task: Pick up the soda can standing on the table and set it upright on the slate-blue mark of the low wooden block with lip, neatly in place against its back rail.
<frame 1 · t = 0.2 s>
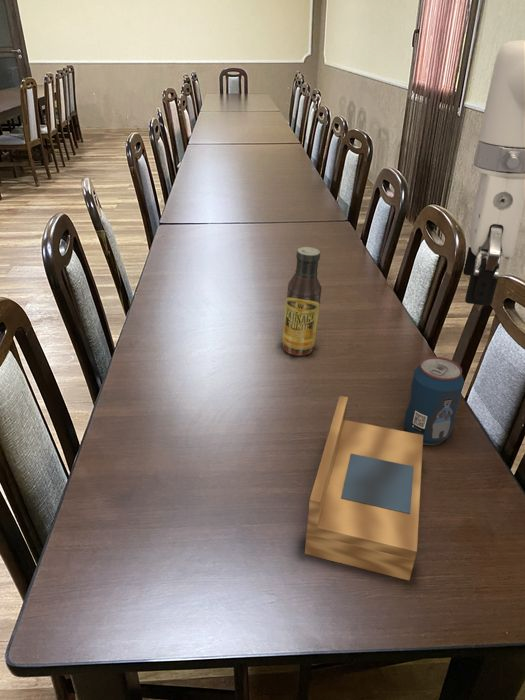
hand: (475, 288, 73), 23 cm above the table, tool pointing down, fingers open, 9 cm apart
sauce bottle: (298, 350, 102), on the table
soda can: (425, 433, 82), on the table
wooden block with lip: (366, 503, 70), on the table
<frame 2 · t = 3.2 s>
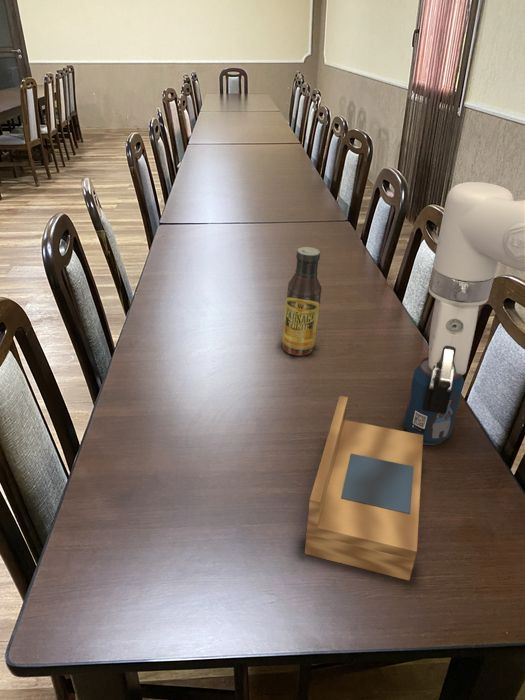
hand: (434, 394, 78), 7 cm above the table, tool pointing down, fingers closed on soda can, 7 cm apart
soda can: (425, 433, 82), on the table, touching gripper
everything else where it was.
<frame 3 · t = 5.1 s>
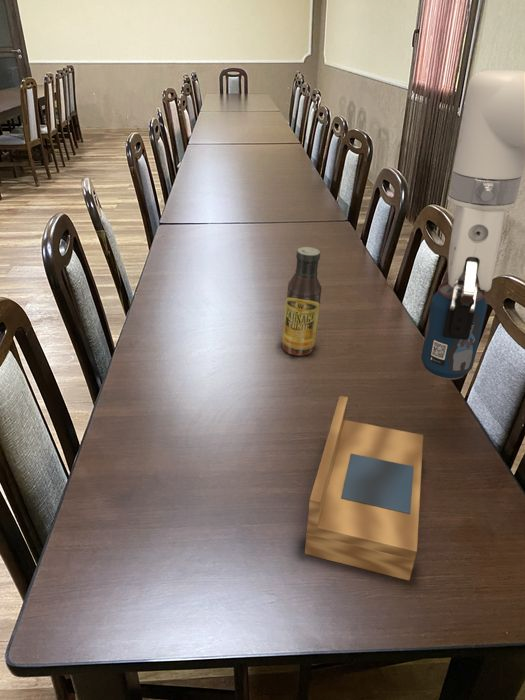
hand: (454, 323, 72), 19 cm above the table, tool pointing down, fingers closed on soda can, 7 cm apart
soda can: (444, 369, 75), point 12 cm above the table, touching gripper
everything else where it was.
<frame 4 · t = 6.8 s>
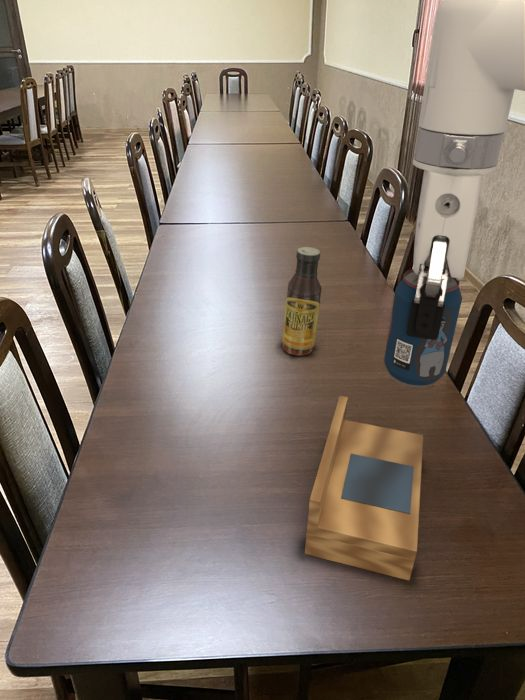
hand: (423, 319, 59), 26 cm above the table, tool pointing down, fingers closed on soda can, 7 cm apart
soda can: (412, 374, 63), point 18 cm above the table, touching gripper
everything else where it was.
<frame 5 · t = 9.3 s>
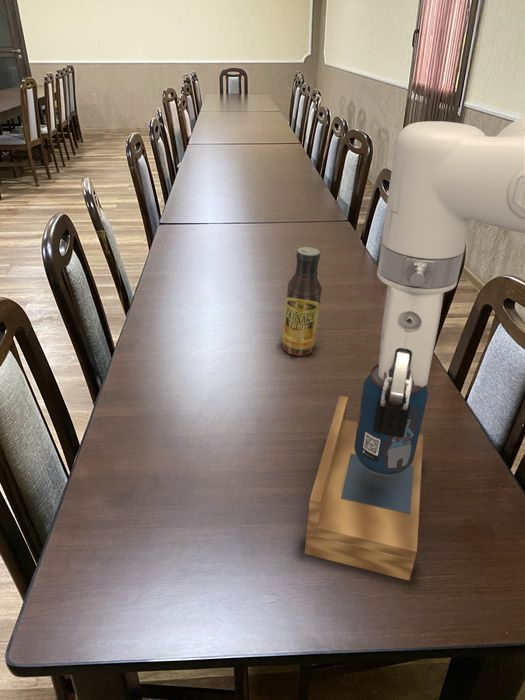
hand: (391, 411, 60), 16 cm above the table, tool pointing down, fingers closed on soda can, 7 cm apart
soda can: (382, 460, 64), point 9 cm above the table, touching gripper
everything else where it was.
when the fingers open (12 cm above the table, at t = 10.8 s): soda can stays where it is, resting on wooden block with lip.
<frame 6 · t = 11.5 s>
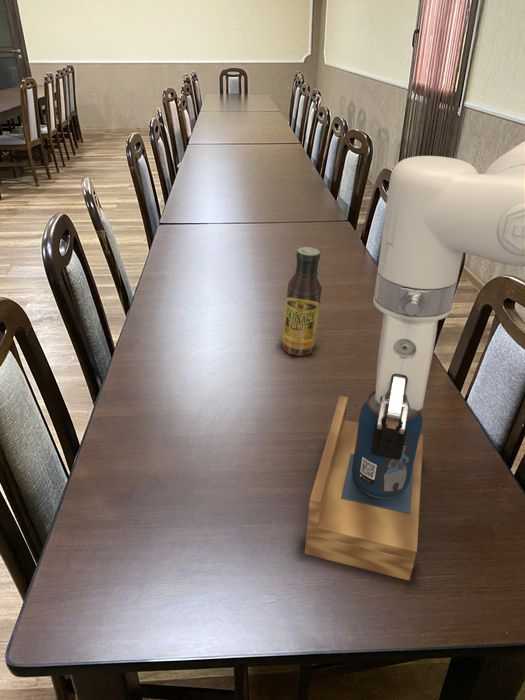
hand: (389, 427, 61), 14 cm above the table, tool pointing down, fingers open, 9 cm apart
soda can: (378, 482, 66), point 5 cm above the table, touching wooden block with lip
everything else where it was.
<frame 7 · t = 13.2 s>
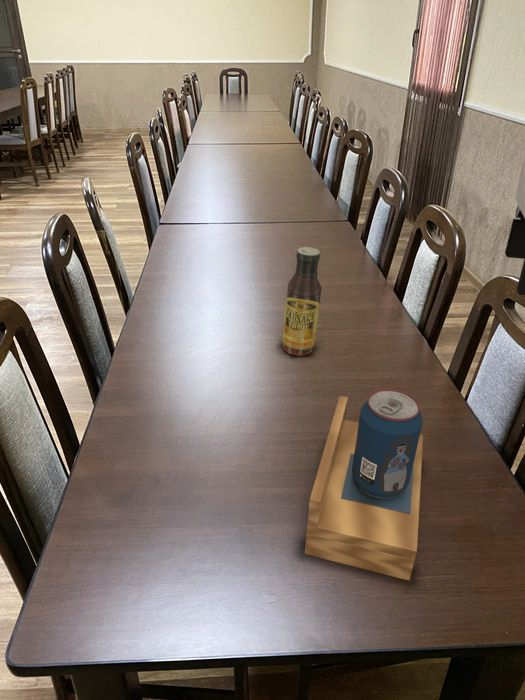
nothing on the table moved.
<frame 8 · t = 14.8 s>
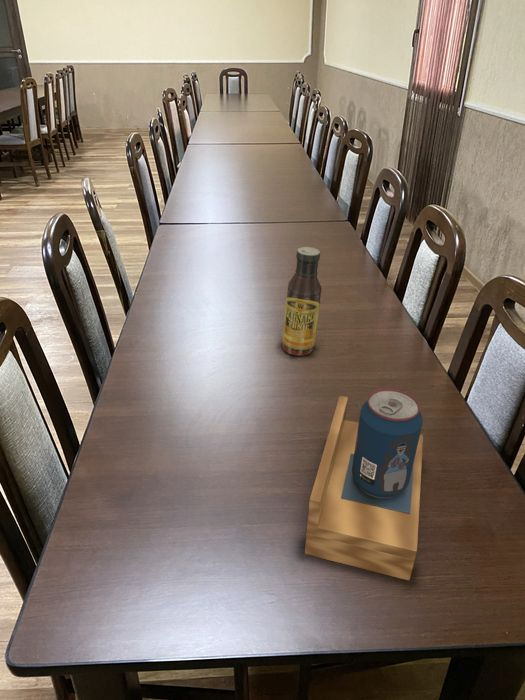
nothing on the table moved.
at the end: soda can 0.0 cm from the target spot on the wooden block with lip, point 5.0 cm above the wooden block with lip's base; soda can tilted 0°; the gripper is holding nothing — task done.
